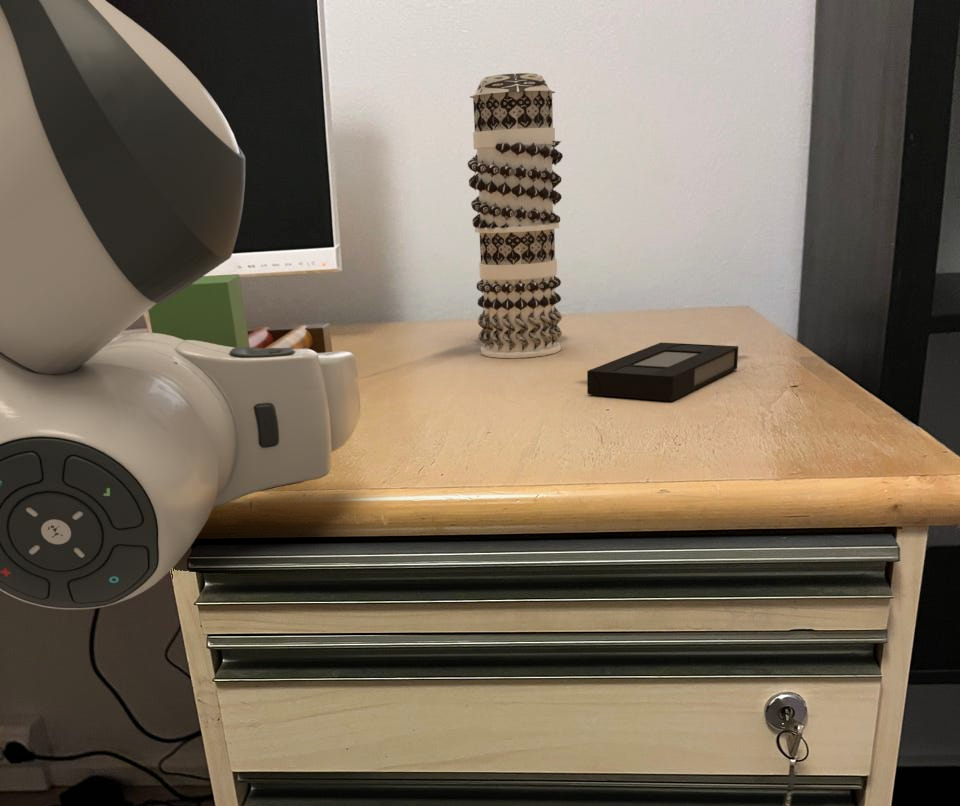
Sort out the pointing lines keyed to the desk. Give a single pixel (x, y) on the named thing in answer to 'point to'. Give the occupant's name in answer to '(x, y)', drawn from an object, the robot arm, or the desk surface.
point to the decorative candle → (516, 215)
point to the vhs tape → (662, 371)
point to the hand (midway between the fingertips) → (201, 376)
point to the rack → (291, 337)
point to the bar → (204, 312)
